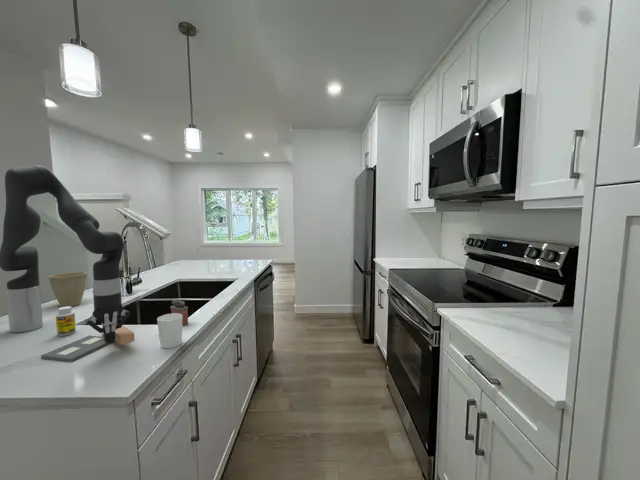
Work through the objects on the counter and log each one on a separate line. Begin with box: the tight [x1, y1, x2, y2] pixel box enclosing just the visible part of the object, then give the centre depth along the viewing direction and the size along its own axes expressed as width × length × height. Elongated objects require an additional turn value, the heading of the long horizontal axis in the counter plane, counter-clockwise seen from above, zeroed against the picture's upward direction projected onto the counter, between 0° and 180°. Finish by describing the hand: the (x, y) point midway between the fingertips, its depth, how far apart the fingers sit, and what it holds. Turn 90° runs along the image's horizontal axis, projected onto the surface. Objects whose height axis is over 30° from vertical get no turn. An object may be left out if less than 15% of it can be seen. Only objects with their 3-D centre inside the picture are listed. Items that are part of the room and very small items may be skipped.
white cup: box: [156, 313, 183, 349], centre depth 104 cm, size 8×8×10 cm
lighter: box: [170, 300, 189, 327], centre depth 123 cm, size 8×3×10 cm, turn 71°
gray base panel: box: [40, 333, 116, 363], centre depth 104 cm, size 12×22×1 cm, turn 169°
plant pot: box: [48, 271, 88, 308], centre depth 150 cm, size 15×15×16 cm
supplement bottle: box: [55, 306, 77, 337], centre depth 114 cm, size 6×6×10 cm
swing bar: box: [115, 324, 136, 346], centre depth 106 cm, size 21×4×4 cm, turn 51°
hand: (109, 342), depth 99 cm, fingers closed
